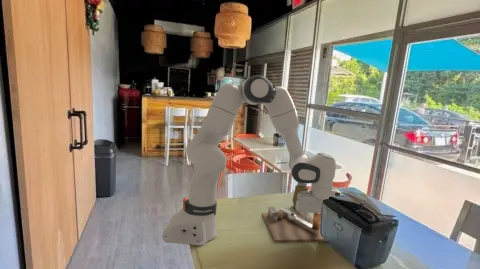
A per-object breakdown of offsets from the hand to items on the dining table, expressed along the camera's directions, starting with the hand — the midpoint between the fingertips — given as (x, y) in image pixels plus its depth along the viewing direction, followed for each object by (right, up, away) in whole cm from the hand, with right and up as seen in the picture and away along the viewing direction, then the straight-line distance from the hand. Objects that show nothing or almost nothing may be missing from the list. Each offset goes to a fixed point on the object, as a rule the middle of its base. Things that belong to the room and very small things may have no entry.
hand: (316, 221), depth 115 cm
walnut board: (-9, -5, +6) cm, 12 cm away
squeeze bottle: (-1, -2, +28) cm, 28 cm away
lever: (-6, -3, +8) cm, 11 cm away
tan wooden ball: (-15, -2, +12) cm, 19 cm away
